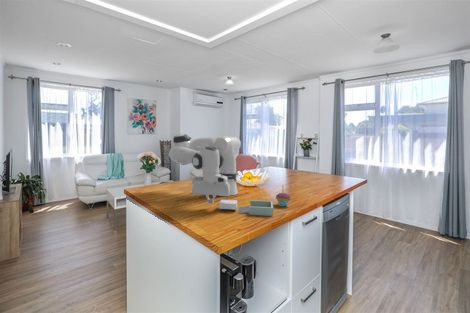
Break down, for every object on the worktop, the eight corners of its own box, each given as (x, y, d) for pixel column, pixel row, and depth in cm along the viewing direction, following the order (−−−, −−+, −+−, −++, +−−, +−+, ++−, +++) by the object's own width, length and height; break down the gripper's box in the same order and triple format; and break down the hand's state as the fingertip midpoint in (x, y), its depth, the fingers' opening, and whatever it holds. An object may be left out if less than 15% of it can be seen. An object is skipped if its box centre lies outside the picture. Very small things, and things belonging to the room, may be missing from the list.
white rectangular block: (218, 210, 125) (218, 203, 124) (221, 206, 132) (221, 199, 131) (235, 211, 124) (235, 203, 123) (237, 207, 131) (237, 200, 130)
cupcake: (274, 203, 142) (274, 183, 141) (288, 203, 143) (288, 183, 142) (277, 207, 133) (278, 186, 132) (292, 207, 134) (293, 186, 133)
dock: (237, 215, 121) (237, 206, 120) (239, 208, 134) (239, 199, 133) (272, 217, 119) (273, 208, 118) (272, 210, 131) (272, 201, 131)
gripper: (190, 177, 126) (190, 203, 127) (228, 179, 123) (228, 205, 124) (193, 175, 132) (193, 200, 133) (230, 177, 129) (230, 202, 130)
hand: (210, 202), depth 129 cm, fingers closed
